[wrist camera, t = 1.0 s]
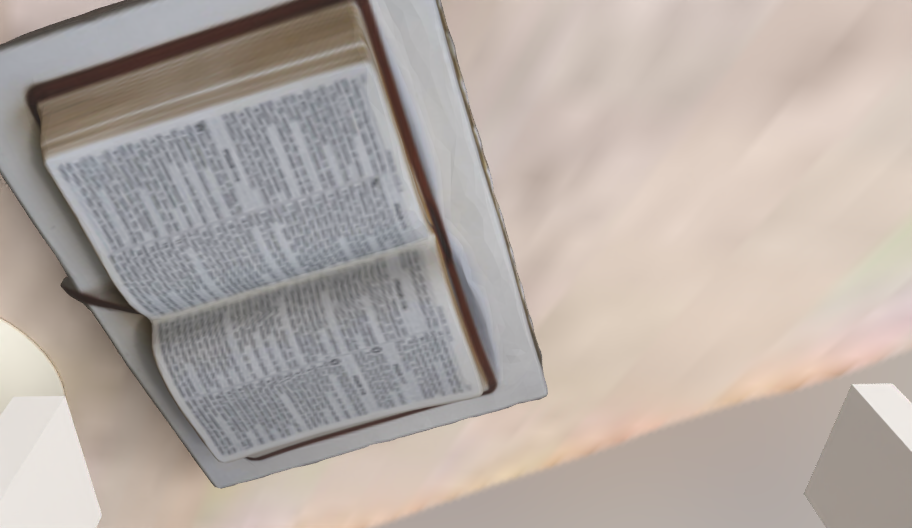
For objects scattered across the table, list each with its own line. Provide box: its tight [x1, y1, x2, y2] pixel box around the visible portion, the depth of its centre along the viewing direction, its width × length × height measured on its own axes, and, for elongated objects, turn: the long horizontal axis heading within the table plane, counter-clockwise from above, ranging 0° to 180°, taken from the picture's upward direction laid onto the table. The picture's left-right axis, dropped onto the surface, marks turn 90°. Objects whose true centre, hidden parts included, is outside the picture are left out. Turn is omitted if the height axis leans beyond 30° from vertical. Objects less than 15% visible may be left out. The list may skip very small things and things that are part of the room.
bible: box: [0, 0, 548, 488], centre depth 32 cm, size 23×27×10 cm
